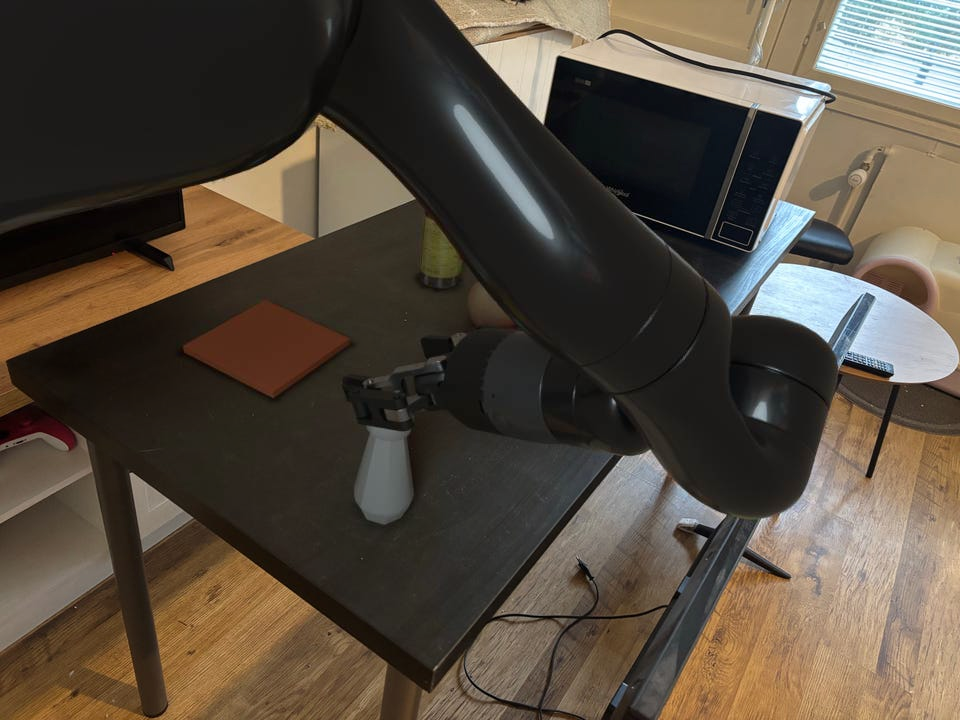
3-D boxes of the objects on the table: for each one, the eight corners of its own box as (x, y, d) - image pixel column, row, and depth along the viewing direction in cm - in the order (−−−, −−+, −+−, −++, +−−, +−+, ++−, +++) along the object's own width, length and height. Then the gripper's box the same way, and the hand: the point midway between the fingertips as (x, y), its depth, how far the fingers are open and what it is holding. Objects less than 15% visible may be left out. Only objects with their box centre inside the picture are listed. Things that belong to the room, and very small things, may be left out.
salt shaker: (352, 487, 74) (356, 386, 67) (408, 485, 76) (419, 386, 68) (354, 532, 70) (359, 429, 62) (414, 529, 71) (426, 428, 64)
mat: (273, 398, 84) (272, 391, 83) (183, 352, 89) (182, 345, 88) (349, 344, 94) (349, 338, 94) (265, 305, 99) (265, 299, 98)
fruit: (485, 305, 106) (492, 256, 102) (532, 327, 103) (542, 277, 99) (453, 327, 101) (460, 276, 96) (502, 351, 98) (512, 299, 93)
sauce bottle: (464, 290, 109) (482, 161, 98) (424, 292, 107) (437, 160, 96) (452, 269, 114) (468, 143, 103) (413, 270, 112) (424, 142, 101)
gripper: (578, 298, 54) (437, 296, 66) (436, 377, 45) (304, 358, 57) (597, 391, 56) (458, 373, 68) (467, 482, 48) (333, 443, 60)
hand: (388, 366), depth 63 cm, fingers open, 8 cm apart
